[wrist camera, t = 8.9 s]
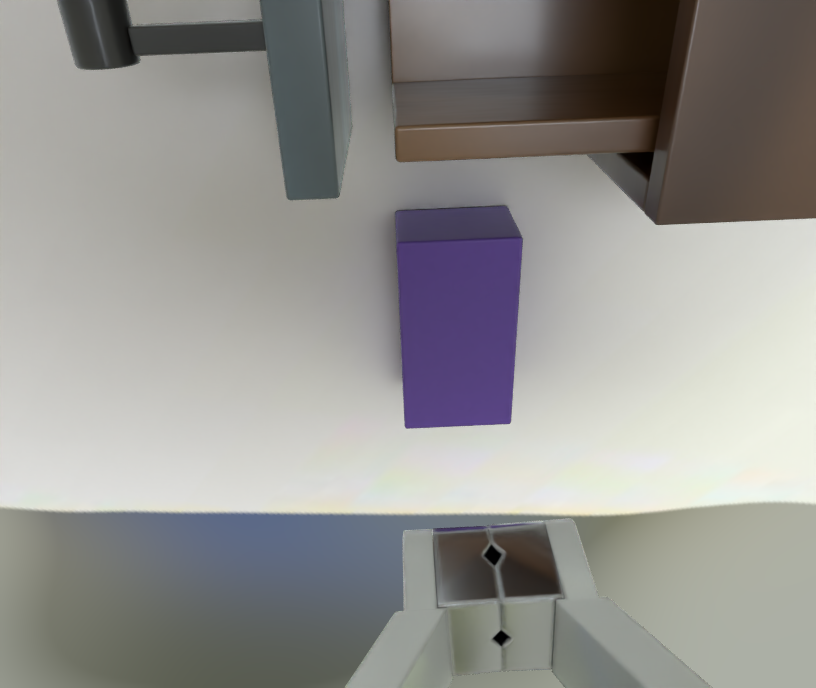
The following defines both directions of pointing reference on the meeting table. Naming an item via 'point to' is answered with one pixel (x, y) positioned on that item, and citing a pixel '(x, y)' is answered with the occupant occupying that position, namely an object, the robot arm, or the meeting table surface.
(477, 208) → the bar
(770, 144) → the cabinet
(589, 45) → the drawer
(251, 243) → the meeting table surface
